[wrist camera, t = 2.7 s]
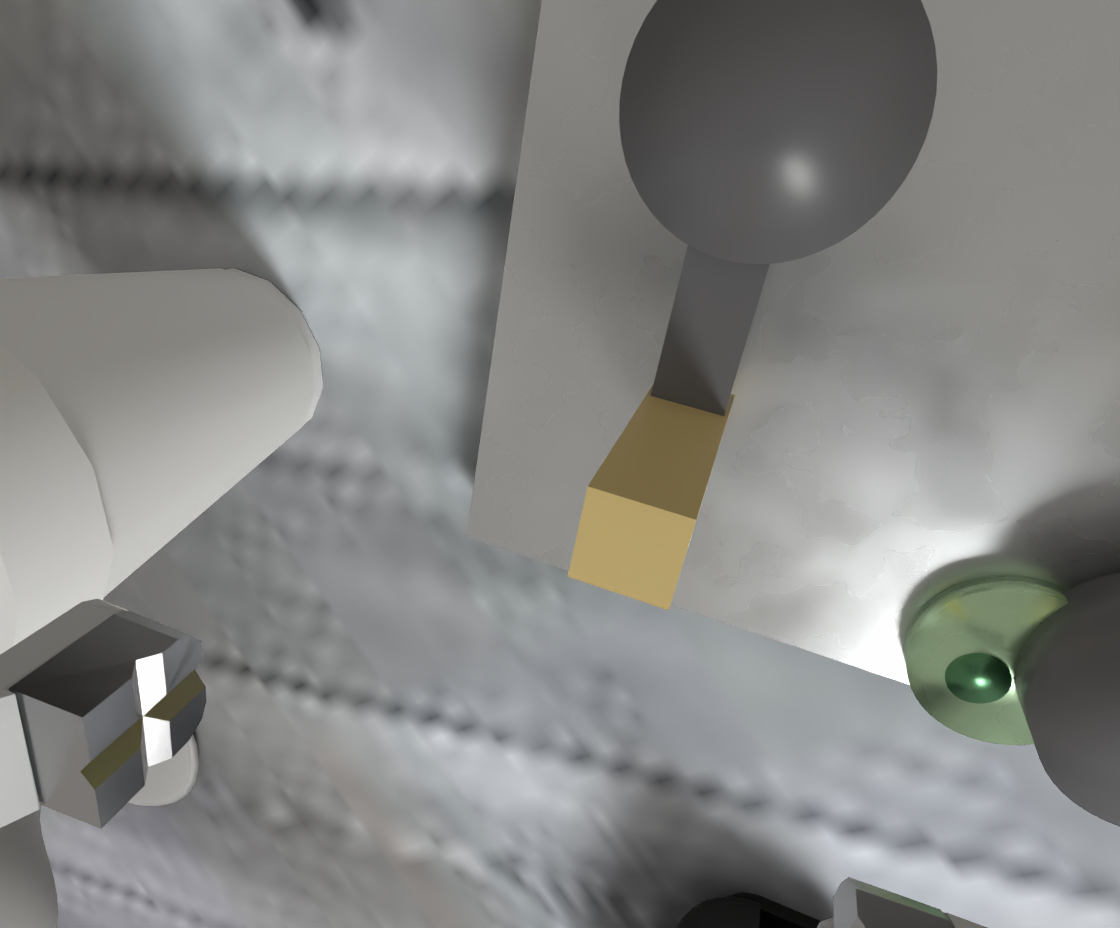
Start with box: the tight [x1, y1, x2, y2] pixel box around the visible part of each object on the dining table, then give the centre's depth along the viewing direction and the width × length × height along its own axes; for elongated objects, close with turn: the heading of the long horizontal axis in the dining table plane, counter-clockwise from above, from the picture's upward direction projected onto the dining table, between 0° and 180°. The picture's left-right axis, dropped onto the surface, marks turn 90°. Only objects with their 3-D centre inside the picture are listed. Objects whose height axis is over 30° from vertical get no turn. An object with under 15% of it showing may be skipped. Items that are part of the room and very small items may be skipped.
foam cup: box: [0, 268, 323, 655], centre depth 21 cm, size 10×9×13 cm
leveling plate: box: [467, 0, 1120, 745], centre depth 19 cm, size 22×20×3 cm
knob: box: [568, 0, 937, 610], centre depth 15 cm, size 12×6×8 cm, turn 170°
